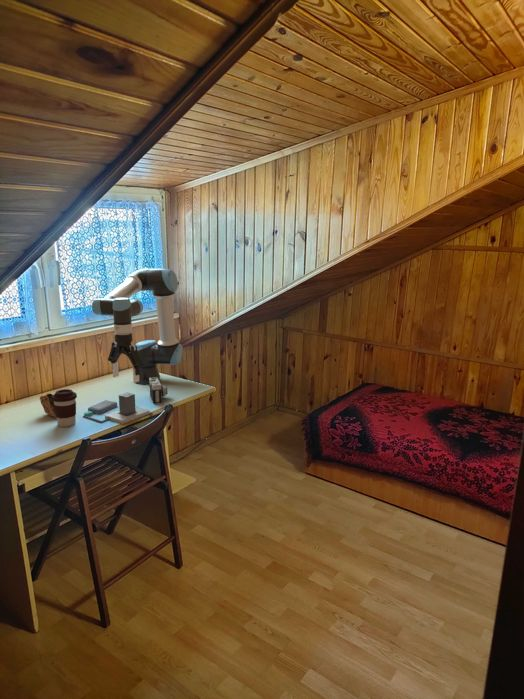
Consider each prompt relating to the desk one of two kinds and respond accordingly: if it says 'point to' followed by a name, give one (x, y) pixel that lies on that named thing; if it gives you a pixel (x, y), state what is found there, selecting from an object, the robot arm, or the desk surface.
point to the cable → (93, 418)
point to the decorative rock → (48, 404)
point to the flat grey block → (102, 407)
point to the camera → (157, 390)
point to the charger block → (127, 404)
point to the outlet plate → (124, 419)
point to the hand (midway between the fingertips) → (126, 379)
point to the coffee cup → (65, 407)
